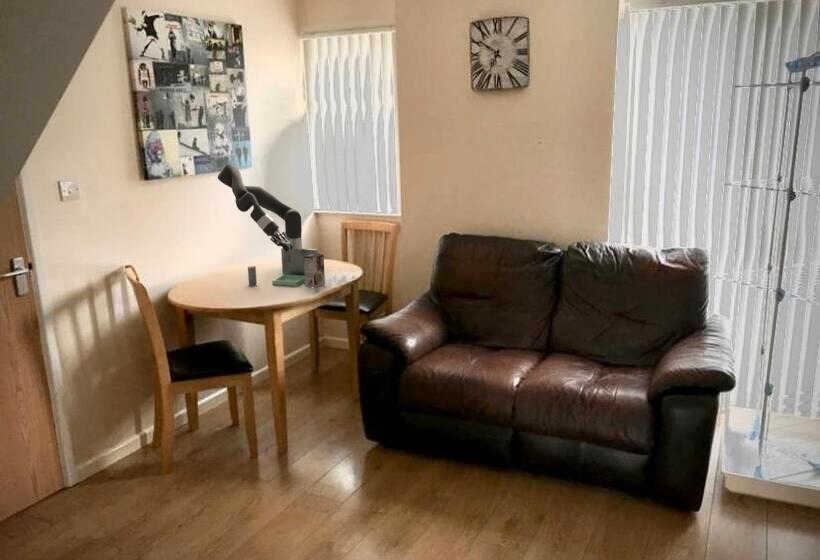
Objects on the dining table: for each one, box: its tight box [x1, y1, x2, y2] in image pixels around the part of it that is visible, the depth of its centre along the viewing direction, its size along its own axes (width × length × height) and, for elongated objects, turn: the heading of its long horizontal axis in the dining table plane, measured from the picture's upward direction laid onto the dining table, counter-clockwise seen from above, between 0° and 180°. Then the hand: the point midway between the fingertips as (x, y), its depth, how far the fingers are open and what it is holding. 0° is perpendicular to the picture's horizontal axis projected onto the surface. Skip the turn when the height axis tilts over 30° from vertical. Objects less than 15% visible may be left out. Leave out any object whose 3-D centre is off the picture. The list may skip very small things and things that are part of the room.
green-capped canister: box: [281, 241, 291, 262], centre depth 350 cm, size 4×4×10 cm
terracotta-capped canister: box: [247, 265, 258, 286], centre depth 349 cm, size 4×4×10 cm
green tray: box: [271, 273, 305, 287], centre depth 354 cm, size 14×14×2 cm
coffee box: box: [304, 252, 326, 289], centre depth 347 cm, size 9×6×16 cm
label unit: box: [280, 247, 319, 276], centre depth 363 cm, size 8×20×16 cm, turn 76°
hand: (289, 249), depth 349 cm, fingers closed on green-capped canister, 4 cm apart
